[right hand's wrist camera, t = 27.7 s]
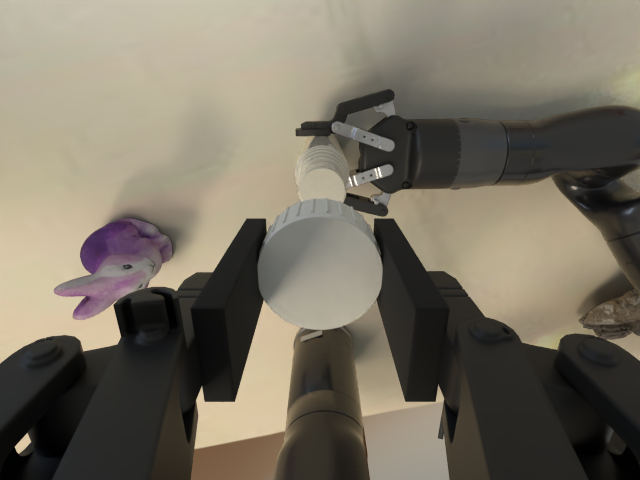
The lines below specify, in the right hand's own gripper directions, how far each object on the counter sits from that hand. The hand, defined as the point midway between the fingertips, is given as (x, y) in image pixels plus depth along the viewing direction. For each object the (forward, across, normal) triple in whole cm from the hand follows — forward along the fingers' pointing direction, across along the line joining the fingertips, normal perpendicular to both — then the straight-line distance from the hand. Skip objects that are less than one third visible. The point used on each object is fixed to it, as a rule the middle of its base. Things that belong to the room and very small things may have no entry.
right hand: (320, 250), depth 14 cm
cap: (-2, 0, 0) cm, 2 cm away
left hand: (+27, -2, 0) cm, 27 cm away
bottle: (+33, 0, 0) cm, 33 cm away
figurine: (+33, -25, -13) cm, 44 cm away
